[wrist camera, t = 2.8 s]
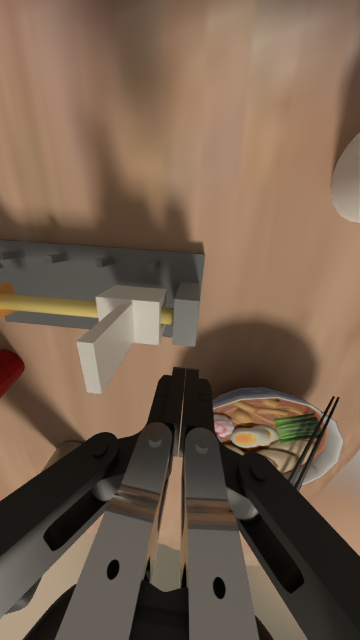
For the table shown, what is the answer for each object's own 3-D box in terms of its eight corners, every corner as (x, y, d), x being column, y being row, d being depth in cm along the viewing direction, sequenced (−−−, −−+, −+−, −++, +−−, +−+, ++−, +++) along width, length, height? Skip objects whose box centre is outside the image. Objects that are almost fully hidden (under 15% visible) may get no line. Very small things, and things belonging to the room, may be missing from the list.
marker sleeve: (167, 289, 21) (135, 342, 10) (165, 325, 23) (138, 401, 12) (115, 285, 21) (33, 332, 11) (118, 320, 23) (52, 391, 12)
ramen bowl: (188, 348, 29) (186, 386, 22) (337, 360, 28) (388, 405, 21) (182, 444, 40) (179, 492, 32) (290, 456, 38) (312, 509, 31)
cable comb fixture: (204, 253, 23) (208, 262, 15) (195, 335, 28) (194, 373, 20) (-16, 238, 25) (-115, 239, 17) (13, 318, 30) (-53, 347, 22)
